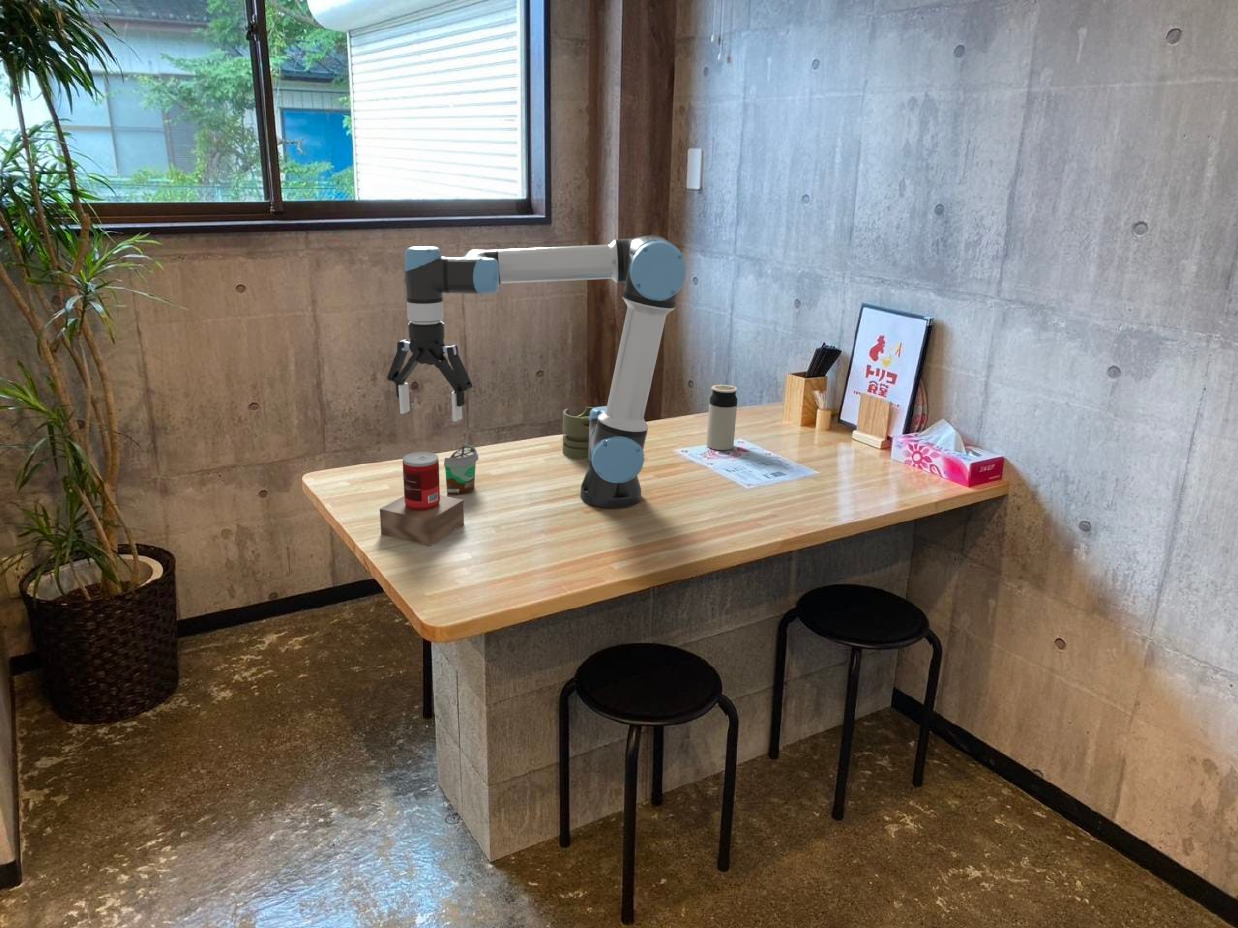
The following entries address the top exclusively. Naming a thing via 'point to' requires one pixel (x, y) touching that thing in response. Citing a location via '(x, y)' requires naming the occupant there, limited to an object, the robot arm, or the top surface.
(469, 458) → the food container
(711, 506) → the top surface
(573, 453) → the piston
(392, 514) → the walnut stand
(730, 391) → the travel mug
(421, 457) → the canned food
